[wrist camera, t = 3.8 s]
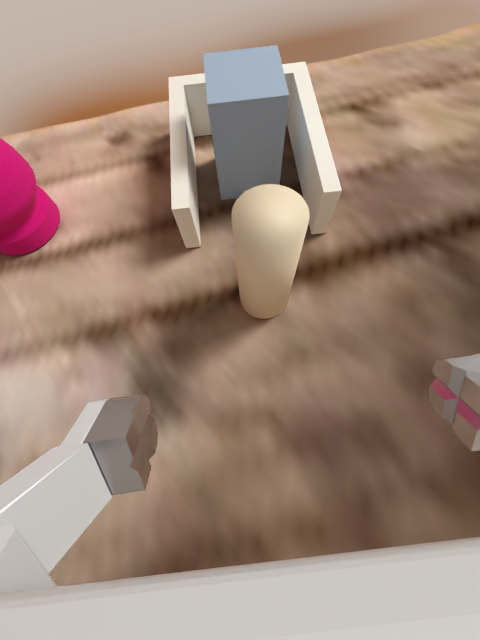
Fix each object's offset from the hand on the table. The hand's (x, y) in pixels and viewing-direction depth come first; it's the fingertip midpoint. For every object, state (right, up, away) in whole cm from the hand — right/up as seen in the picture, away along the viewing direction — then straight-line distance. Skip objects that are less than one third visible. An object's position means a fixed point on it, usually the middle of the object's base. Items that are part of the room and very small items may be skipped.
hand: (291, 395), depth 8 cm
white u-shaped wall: (-1, +15, +18) cm, 23 cm away
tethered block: (0, +10, +16) cm, 19 cm away
